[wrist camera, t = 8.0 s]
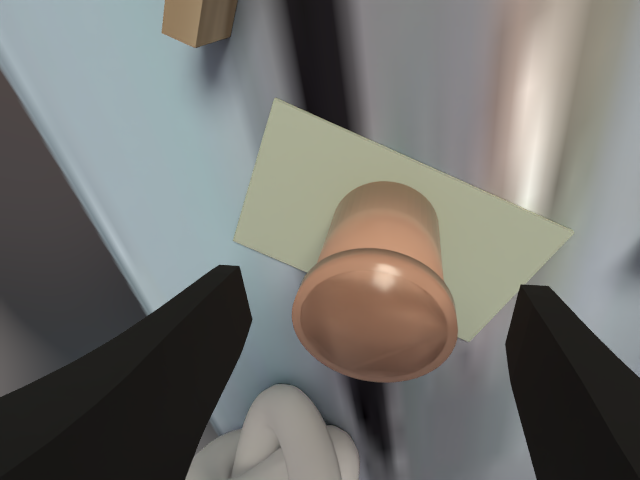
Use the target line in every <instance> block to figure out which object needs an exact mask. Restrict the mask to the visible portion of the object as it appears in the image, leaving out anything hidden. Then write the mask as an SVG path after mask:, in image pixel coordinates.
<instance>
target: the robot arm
mask: <svg viewBox="0 0 640 480" xmlns="http://www.w3.org/2000/svg"><path fill="white" fill-rule="evenodd" d="M251 322H252V316H251V312H250V308H249V304H248V300H247V295H246V291H245V287H244V283H243V279H242V275H241V270H240V266H230V265H218V266H217V267H215V268H214V269H212V270H211V271H209V272H208V273H207V274H205V275H204V276H202V277H201V278H200V279H198V280H197V281H196V282H194V283H193V284H191V285H190V286H189V287H187V288H186V289H185V290H183V291H182V292H181V293H179V294H178V295H176V296H175V297H174V298H172V299H171V300H170V301H168V302H167V303H165V304H164V305H163V306H161V307H160V308H159V309H157V310H156V311H154V312H153V313H151V314H150V315H148V316H147V317H145V318H144V319H142V320H141V321H139V322H138V323H136V324H135V325H133V326H132V327H130V328H129V329H127V330H126V331H125V332H123V333H121V334H120V335H119V336H117V337H115V338H113V339H112V340H110V341H109V342H107V343H105V344H104V345H102V346H100V347H98V348H97V349H95V350H93V351H92V352H90V353H88V354H86V355H84V356H83V357H81V358H79V359H77V360H76V361H74V362H72V363H70V364H68V365H66V366H64V367H62V368H60V369H58V370H56V371H54V372H52V373H50V374H48V375H46V376H44V377H42V378H40V379H38V380H36V381H34V382H32V383H30V384H28V385H26V386H24V387H22V388H20V389H18V390H15V391H13V392H11V393H9V394H6V395H4V396H2V397H0V480H185V479H186V476H187V473H188V471H189V468H190V465H191V463H192V460H193V457H194V455H195V452H196V449H197V446H198V444H199V441H200V439H201V437H202V434H203V432H204V430H205V427H206V425H207V423H208V421H209V419H210V417H211V415H212V413H213V411H214V409H215V407H216V405H217V403H218V401H219V399H220V396H221V394H222V392H223V390H224V388H225V386H226V384H227V382H228V380H229V378H230V376H231V374H232V372H233V370H234V368H235V365H236V363H237V361H238V359H239V357H240V355H241V353H242V350H243V347H244V344H245V341H246V338H247V335H248V332H249V329H250V326H251ZM505 346H506V353H507V361H508V369H509V375H510V382H511V386H512V390H513V394H514V398H515V402H516V405H517V409H518V413H519V416H520V420H521V424H522V427H523V431H524V435H525V438H526V442H527V446H528V449H529V453H530V456H531V460H532V464H533V467H534V471H535V475H536V478H537V480H640V378H639V377H638V376H637V375H636V374H635V373H634V372H633V371H632V370H631V369H630V368H628V367H627V366H626V365H625V364H624V363H623V362H622V361H621V360H620V359H619V358H618V357H617V356H616V355H615V354H614V353H613V352H612V351H611V350H610V349H609V348H608V347H607V346H606V345H605V344H604V343H603V342H602V341H601V340H600V339H599V338H598V337H597V336H596V335H595V334H594V333H593V332H592V331H591V330H590V329H589V328H588V327H587V326H586V325H585V324H584V323H583V322H582V321H581V320H580V319H579V318H578V317H577V315H576V314H575V313H574V312H573V311H572V310H571V309H570V308H569V307H568V306H567V305H566V304H565V303H564V302H563V301H562V300H561V298H560V297H559V296H558V295H557V294H556V293H555V292H554V291H553V290H552V289H551V288H550V287H549V286H538V285H522V284H520V288H519V292H518V296H517V300H516V304H515V308H514V312H513V316H512V320H511V324H510V328H509V331H508V335H507V339H506V343H505Z"/></svg>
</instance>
